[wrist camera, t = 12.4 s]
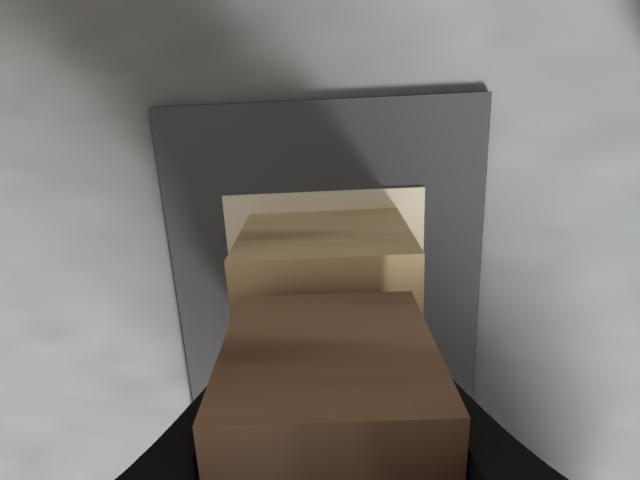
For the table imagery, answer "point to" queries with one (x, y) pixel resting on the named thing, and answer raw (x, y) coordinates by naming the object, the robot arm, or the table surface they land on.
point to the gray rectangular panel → (326, 196)
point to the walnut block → (331, 393)
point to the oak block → (325, 255)
